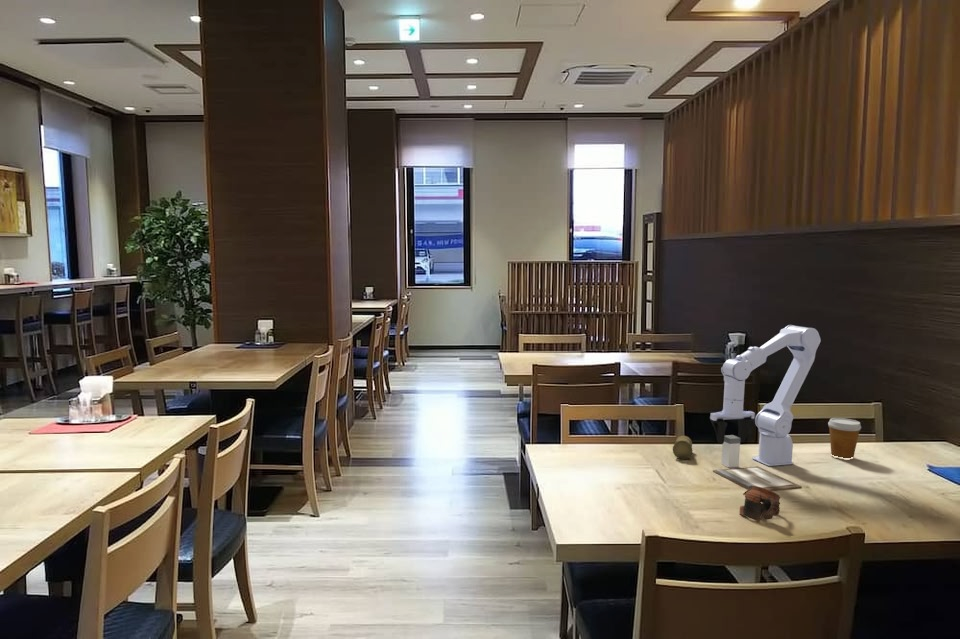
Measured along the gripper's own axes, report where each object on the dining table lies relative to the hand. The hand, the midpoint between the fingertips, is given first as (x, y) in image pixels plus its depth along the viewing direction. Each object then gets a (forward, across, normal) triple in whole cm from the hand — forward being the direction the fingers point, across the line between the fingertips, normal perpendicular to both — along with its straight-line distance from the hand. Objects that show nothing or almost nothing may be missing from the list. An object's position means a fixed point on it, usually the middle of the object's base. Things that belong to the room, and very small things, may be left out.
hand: (731, 442), depth 203 cm
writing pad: (+7, +1, +13) cm, 15 cm away
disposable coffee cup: (+7, -42, +1) cm, 43 cm away
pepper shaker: (+4, +11, -8) cm, 15 cm away
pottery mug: (+8, +18, +37) cm, 42 cm away
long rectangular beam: (+7, 0, 0) cm, 7 cm away
